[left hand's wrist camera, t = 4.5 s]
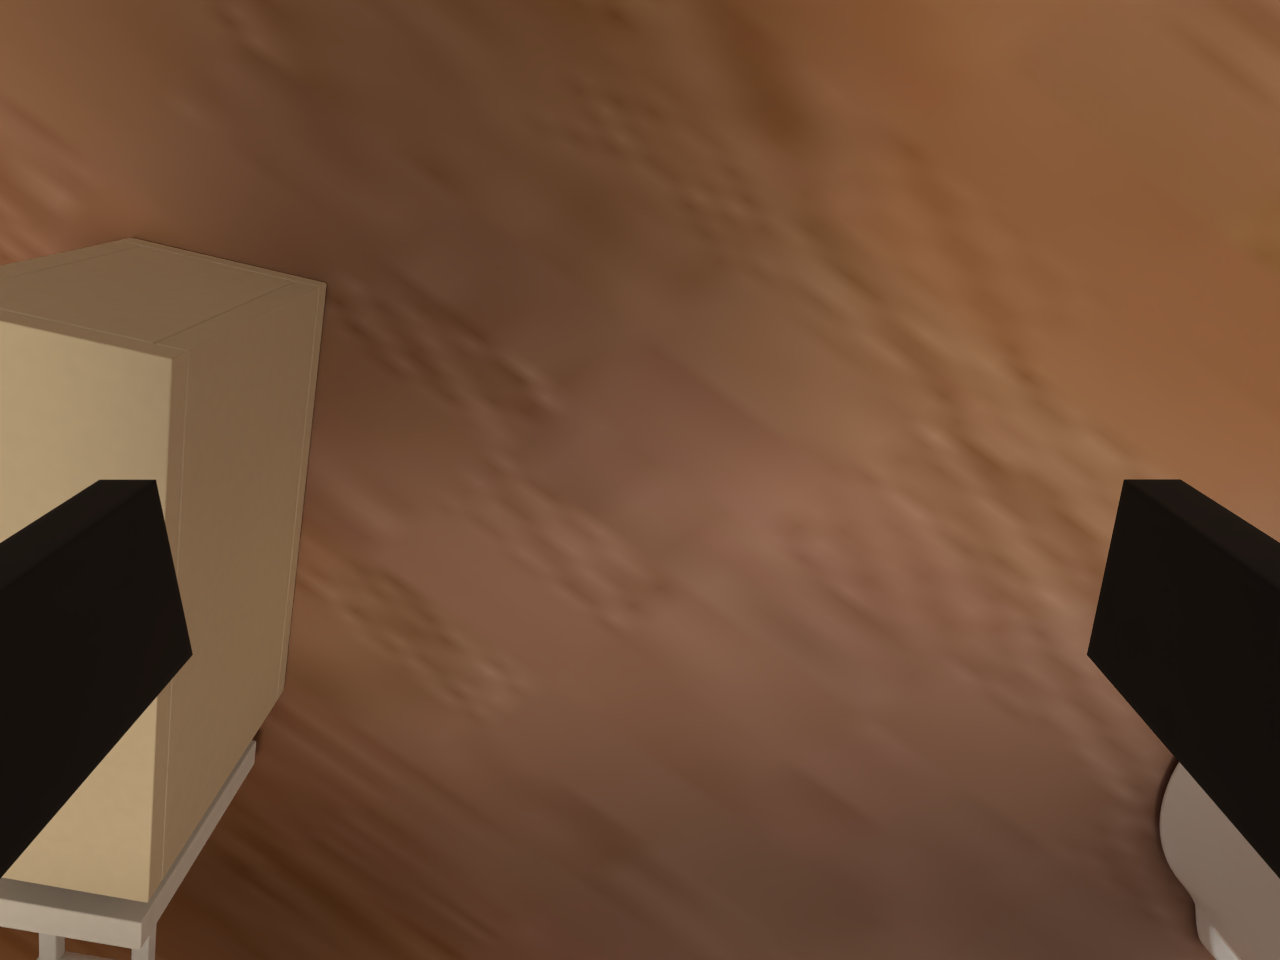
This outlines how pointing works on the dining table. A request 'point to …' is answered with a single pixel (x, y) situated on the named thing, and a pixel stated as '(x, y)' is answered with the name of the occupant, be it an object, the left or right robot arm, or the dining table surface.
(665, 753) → the dining table surface
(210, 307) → the beige rectangular block
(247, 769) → the drawer
